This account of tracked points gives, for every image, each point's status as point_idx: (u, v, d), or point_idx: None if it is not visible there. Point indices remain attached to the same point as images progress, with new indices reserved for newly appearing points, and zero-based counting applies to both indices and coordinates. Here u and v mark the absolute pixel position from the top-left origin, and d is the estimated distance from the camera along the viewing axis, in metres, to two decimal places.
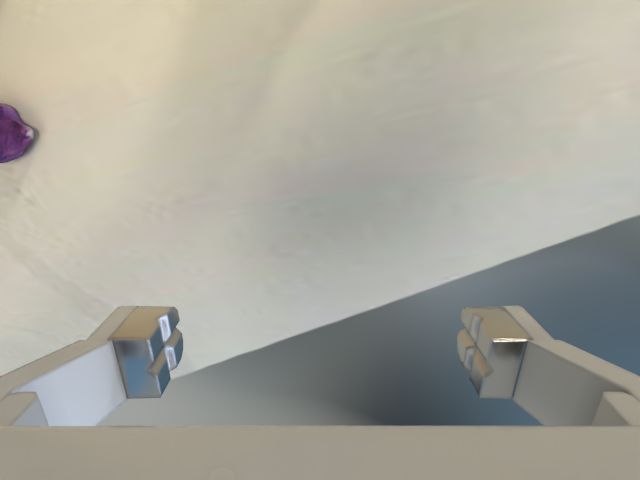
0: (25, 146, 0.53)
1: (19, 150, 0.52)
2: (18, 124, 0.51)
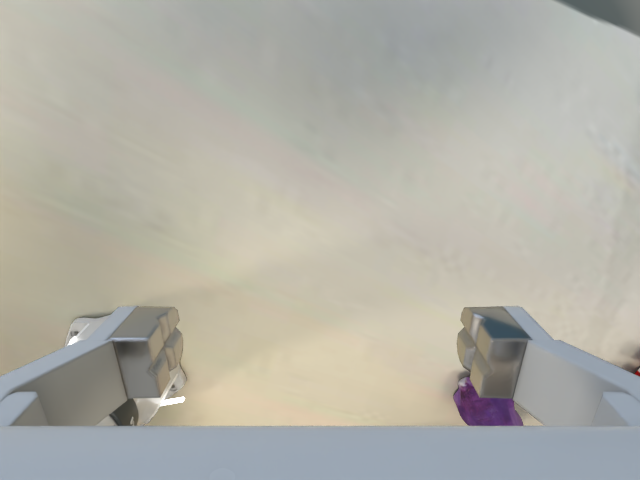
0: None
1: None
2: (461, 392, 0.55)
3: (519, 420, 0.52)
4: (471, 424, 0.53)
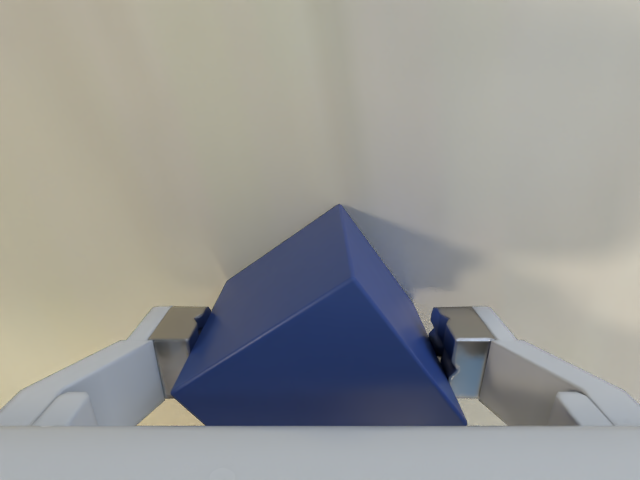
0: None
1: None
2: None
3: None
4: None
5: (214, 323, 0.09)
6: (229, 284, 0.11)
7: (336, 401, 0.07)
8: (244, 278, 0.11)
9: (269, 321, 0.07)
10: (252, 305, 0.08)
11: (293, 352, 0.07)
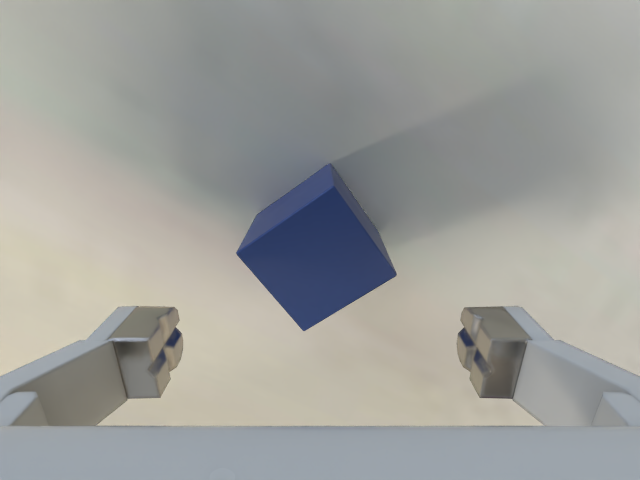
0: None
1: None
2: None
3: None
4: None
5: (255, 228, 0.16)
6: (259, 214, 0.18)
7: (325, 258, 0.14)
8: (270, 209, 0.17)
9: (290, 212, 0.14)
10: (278, 213, 0.15)
11: (302, 228, 0.13)
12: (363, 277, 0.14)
